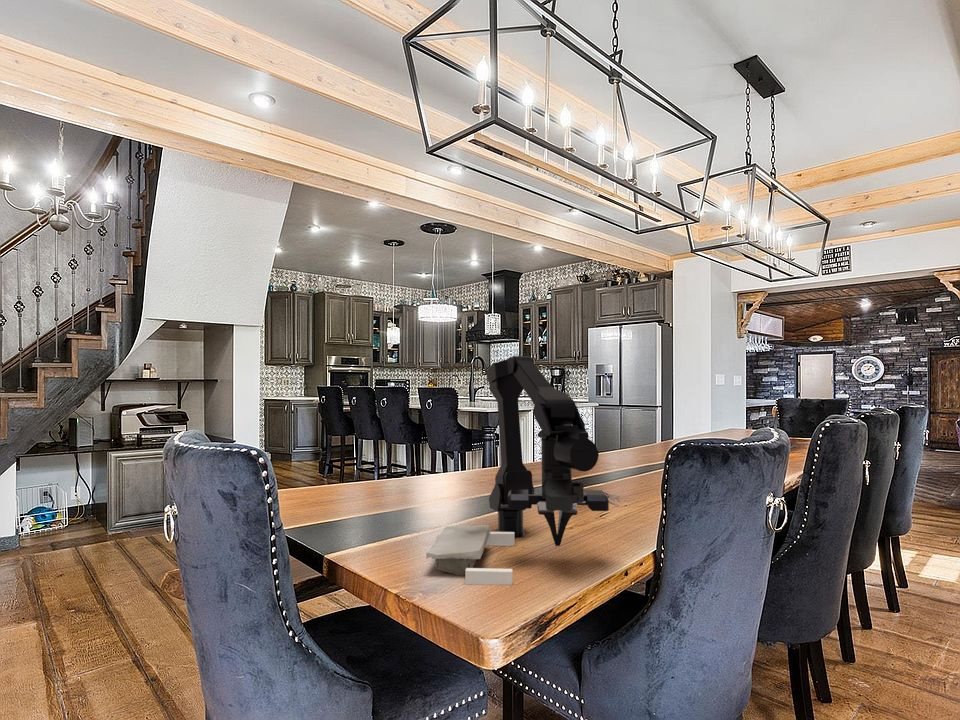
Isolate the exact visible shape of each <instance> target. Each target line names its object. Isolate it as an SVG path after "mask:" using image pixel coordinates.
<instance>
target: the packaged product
mask: <svg viewBox="0 0 960 720" xmlns="http://www.w3.org/2000/svg"><path fill="white" fill-rule="evenodd" d="M490 532H492V531H491V526H490V524H484V525H483V524H482V525H481V524H479V525H477V524H476V525H457V526H445V527H444V528H443V530H442V531H441V532H440V533H439V534H437V536H436V539H435V541H434V543H433V544H432V545H431V547H430V549H429V550H428V551H427V552H426V553H425V554H426V556H425V558H426V559H429V558H431V559H432V560H434V559H435V562H434V565H435V568H436V569H437V570H438V571H441V572H446V573H450V574H455V575H457V576H458V575H461V576H464V575H465V571H466V568H474V566H475V564H476V561H477V560H481V558H482V556H483V553H484V551H485V547H486V546H485V545H486V543H487V540H488V537H489V535H490Z"/></svg>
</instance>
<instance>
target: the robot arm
mask: <svg viewBox="0 0 960 720" xmlns="http://www.w3.org/2000/svg"><path fill="white" fill-rule="evenodd" d="M486 379H487V382H488V388H489V391H490V393H491V394H492V395H493V397H494V398H495V400H496V403H497V417H498V430H499V442H500V443H499V445H500V460H501V465H500V467H499V469H498V470H497V472H496V475H495V478H494V479H495V481H494V482H495V484H494V486H493V488H492V490H491V493H490V495H489V497H488V504H489V508H490V509H492V510H493V511H495V512H497V529H496V532H514V538H517V539H518V538H523V539H524V538H526V529H525V528H524V511H526V509H530V510H531V509H532V506H533V505H534V506H536V505H537V513H538V515H541V516H542V515H543V516H544V518H545V520H546V522H547V524H548V526H549V528H550V529H549V530H550V532H551V536H552V539H553V541H554V542H553V543H554V545H555V547H560V546H561V543H562V540H563V537H564V533H565V531H566V527H567V525H568V523H569V521H570V519H571V518H572V516H577V515H578V510H577V508H578V506H586V507H587V508H588V509H590V510H591V512H608V511H609V510H610V506H609V505H610V504H609V503H610V502H609V497H608V495H606V493H605V492H604V491H603V490H601V489H595V490H594V489H589V490H588V489H584V486H585V485H584V482H576V481H575V482H573V477H572V476H573V473H572V472H573V470H575V471H580V472H583V473H584V472H588V471H591V470H592V469H593V468H594V467H595V466H596V465H597V463H598V460H599V450H598V448H597V445H596V444H595V443H594V441H592V440H591V439H589V432H588V431H587V429H586V427H585V426H586V423H585V422H584V419H583V418H582V416H581V414H580V411H579V408H578V406H577V405H576V402H575V400H574V399H573V398H572V397H570V396H569V395H568V394H566V392H563V391H561V390H558V389H555V388H554V387H553V386H552V385H551V384H550V382H549V381H548V380H547V378H546V377H545V376H544V375H543V373H542V372H541V371H540V369H539V368H538V367H537V366H536V364H535V362H534V359H533V357H532V356H529V355H525V356H524V355H512V356H510V357H508V358H507V359H504V360H501V361H497V362H493V363H491V365H490V366H489V367H488V368H487V370H486ZM523 391H524V392H525V393H526V395H528V397H529V398H530V401H532V403H533V411H532V414H533V416H534V419H535V421H536V422H537V424H538V426H539V428H540V429H541V430H540V431H538V433H537V437H538V438H541V443H540V444H541V494H535V488H534V483H533V474H532V471H531V470H530V469H529V470H528V469H527V467H526V466H525V464H524V463H523V461H524V460H523V449H522V435H521V422H520V409H519V408H520V407H519V398H520V396H521V395H522V392H523ZM555 511H558V522H557V525H556V517H555Z"/></svg>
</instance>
